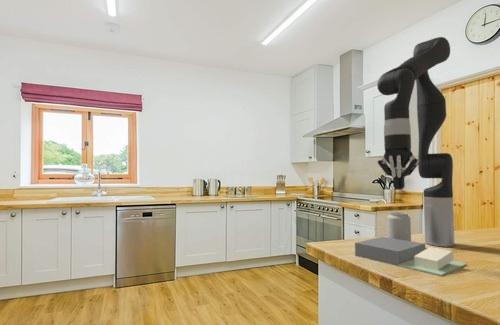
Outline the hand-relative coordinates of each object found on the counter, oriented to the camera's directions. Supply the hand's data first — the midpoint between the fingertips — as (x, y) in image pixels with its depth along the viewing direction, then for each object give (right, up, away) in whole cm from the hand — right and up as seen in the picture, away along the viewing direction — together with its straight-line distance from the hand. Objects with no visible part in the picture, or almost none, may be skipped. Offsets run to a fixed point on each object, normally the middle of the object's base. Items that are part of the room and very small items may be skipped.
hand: (398, 189), depth 96 cm
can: (+7, -22, +13) cm, 26 cm away
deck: (-3, -21, 0) cm, 21 cm away
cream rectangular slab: (+4, -17, -11) cm, 20 cm away
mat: (+5, -20, -10) cm, 23 cm away
